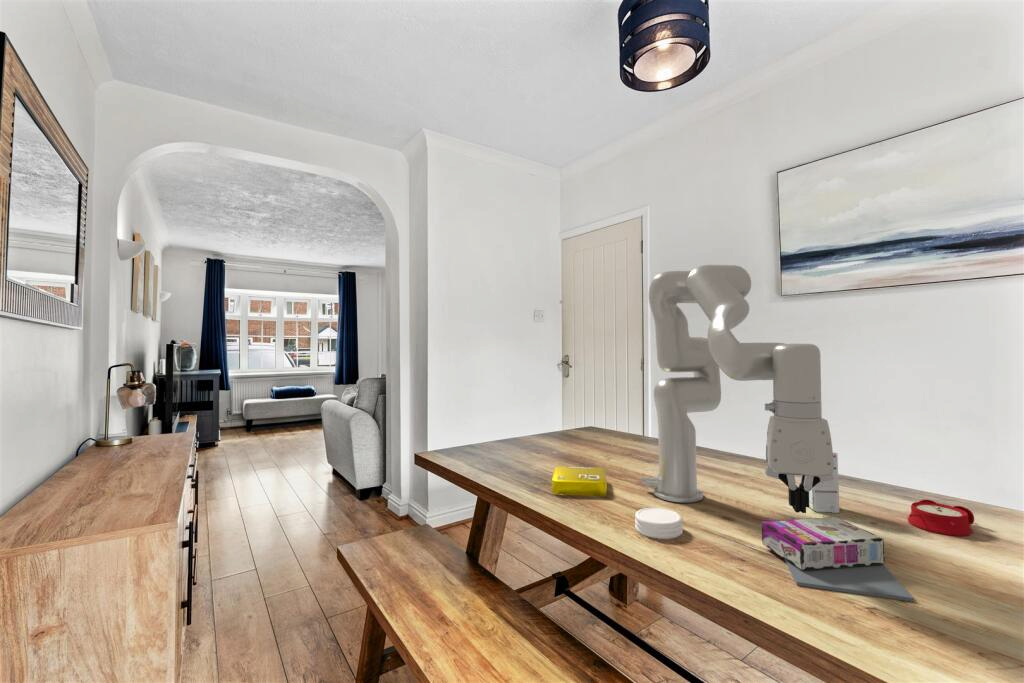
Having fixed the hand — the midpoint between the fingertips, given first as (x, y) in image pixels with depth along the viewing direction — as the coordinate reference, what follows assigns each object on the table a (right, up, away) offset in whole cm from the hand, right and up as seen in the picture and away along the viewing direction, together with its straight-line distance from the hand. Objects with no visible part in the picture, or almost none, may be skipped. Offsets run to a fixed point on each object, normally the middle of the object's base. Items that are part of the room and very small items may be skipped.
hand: (798, 510), depth 85 cm
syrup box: (+23, -10, +28) cm, 38 cm away
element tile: (-33, -12, +48) cm, 59 cm away
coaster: (-20, -11, +17) cm, 29 cm away
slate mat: (+6, -10, -2) cm, 12 cm away
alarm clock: (+42, -10, +17) cm, 47 cm away
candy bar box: (-3, -7, +2) cm, 8 cm away
